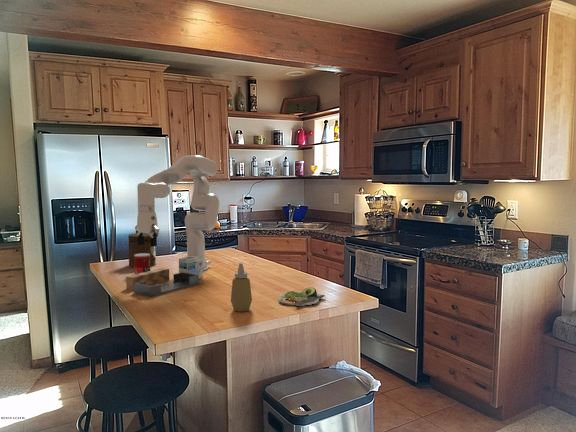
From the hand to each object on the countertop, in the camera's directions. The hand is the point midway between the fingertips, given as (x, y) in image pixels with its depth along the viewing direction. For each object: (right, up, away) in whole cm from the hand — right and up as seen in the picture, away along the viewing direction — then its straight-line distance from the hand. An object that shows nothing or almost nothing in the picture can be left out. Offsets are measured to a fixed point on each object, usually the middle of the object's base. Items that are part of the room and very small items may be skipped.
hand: (147, 245), depth 201 cm
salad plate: (+72, -21, -26) cm, 79 cm away
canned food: (-9, -17, +21) cm, 29 cm away
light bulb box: (+18, -18, +14) cm, 29 cm away
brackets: (+12, -19, -6) cm, 23 cm away
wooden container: (-18, -15, +47) cm, 53 cm away
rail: (0, -19, +2) cm, 19 cm away
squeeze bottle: (+49, -22, -38) cm, 66 cm away
